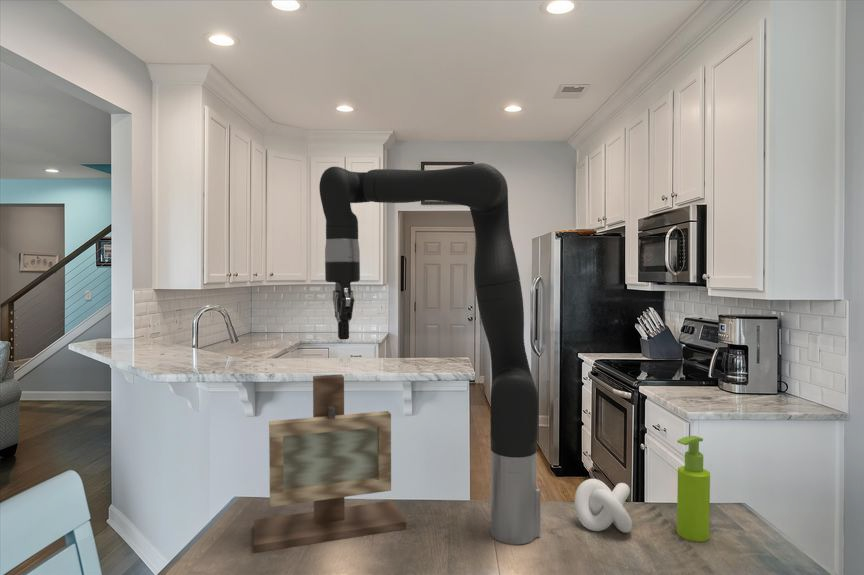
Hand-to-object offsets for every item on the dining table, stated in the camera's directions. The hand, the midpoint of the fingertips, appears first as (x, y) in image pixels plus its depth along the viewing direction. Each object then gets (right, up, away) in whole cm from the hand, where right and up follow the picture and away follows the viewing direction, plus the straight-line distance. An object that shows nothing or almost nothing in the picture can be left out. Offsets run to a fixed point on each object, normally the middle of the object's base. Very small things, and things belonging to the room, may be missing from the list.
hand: (343, 338), depth 118 cm
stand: (-2, -39, -7) cm, 39 cm away
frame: (-1, -31, -10) cm, 32 cm away
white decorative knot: (+56, -39, -6) cm, 69 cm away
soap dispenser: (+72, -39, -10) cm, 83 cm away
